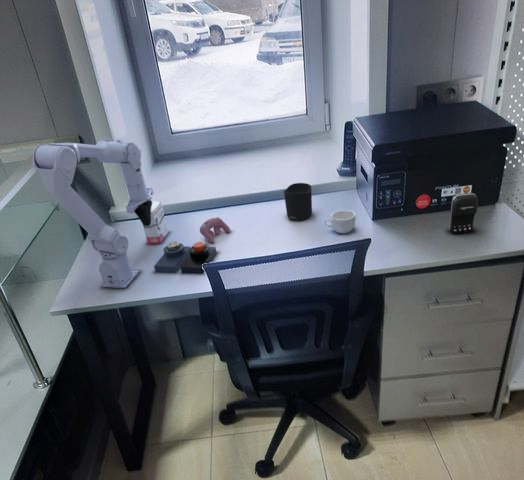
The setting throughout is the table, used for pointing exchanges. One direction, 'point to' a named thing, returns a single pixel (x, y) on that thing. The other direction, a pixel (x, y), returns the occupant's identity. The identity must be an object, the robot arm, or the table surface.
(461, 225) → the battery charger
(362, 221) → the table surface
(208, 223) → the pink curved piece
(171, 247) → the left button
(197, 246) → the right button
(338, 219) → the teacup
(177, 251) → the left box
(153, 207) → the ink box
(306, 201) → the pen holder
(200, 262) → the right box
